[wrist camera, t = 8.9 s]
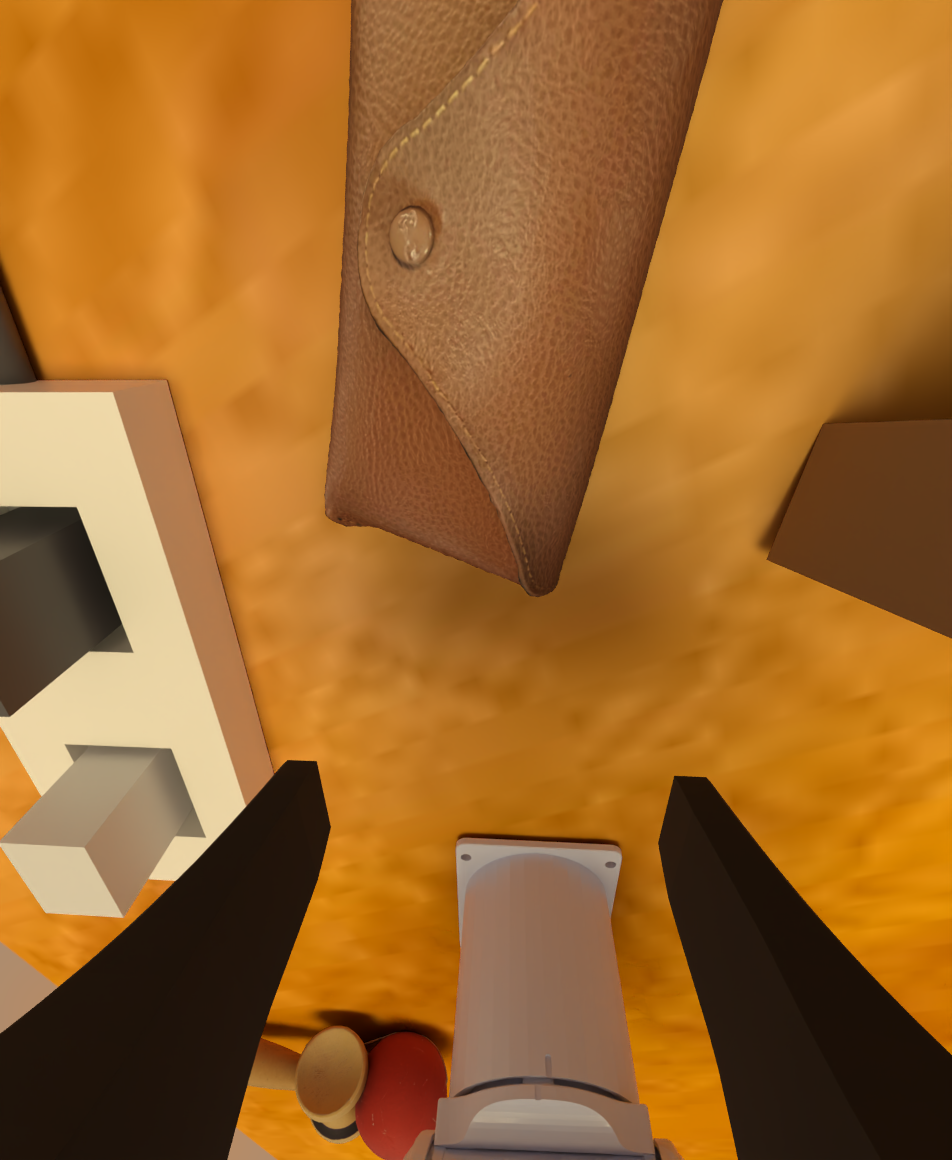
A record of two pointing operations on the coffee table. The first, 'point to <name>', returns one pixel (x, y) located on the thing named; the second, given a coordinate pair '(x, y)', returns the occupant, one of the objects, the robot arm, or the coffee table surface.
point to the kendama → (360, 1086)
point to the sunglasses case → (498, 258)
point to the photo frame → (877, 517)
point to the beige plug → (100, 830)
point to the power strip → (116, 596)
